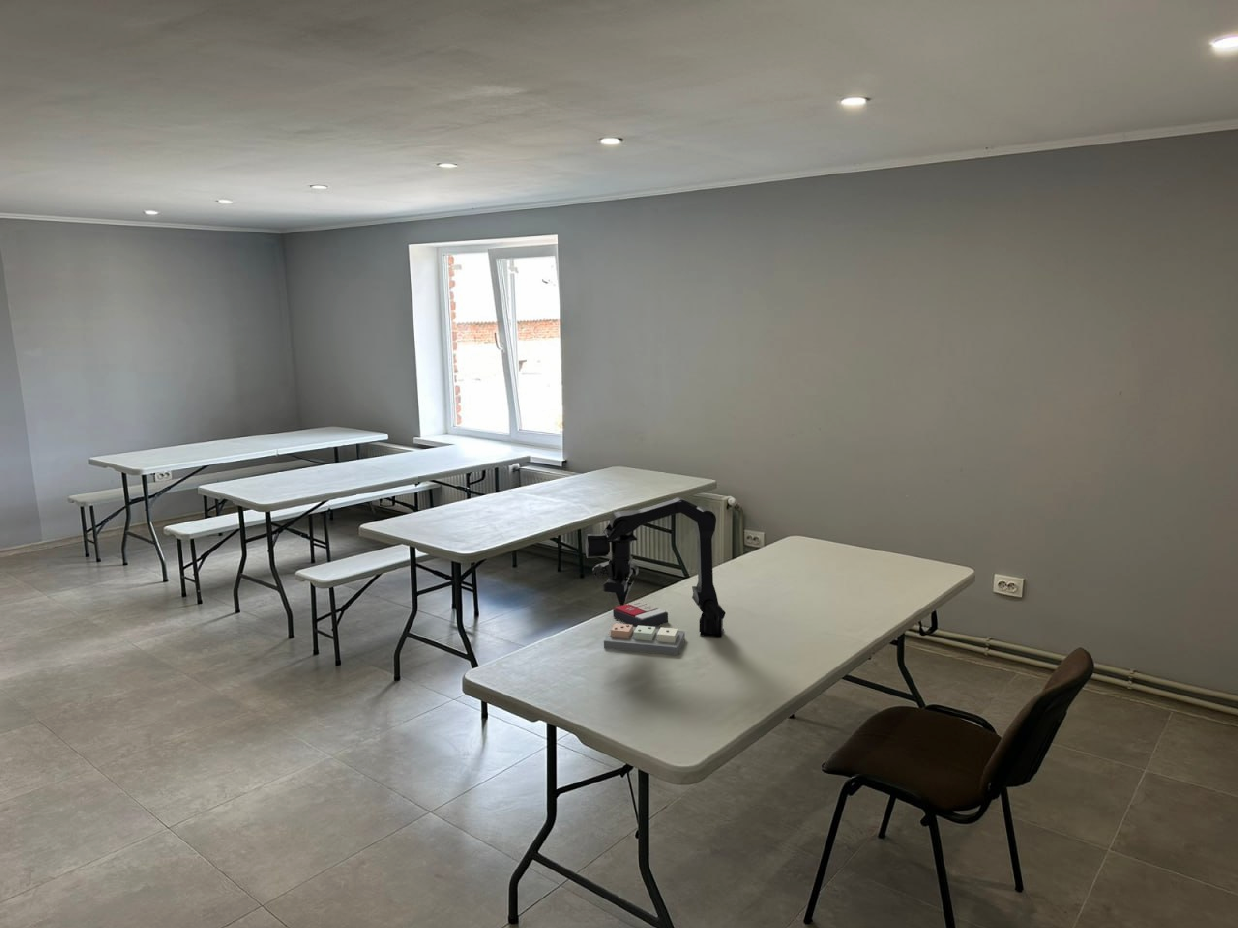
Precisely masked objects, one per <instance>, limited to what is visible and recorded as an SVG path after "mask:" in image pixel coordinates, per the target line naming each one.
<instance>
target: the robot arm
mask: <svg viewBox="0 0 1238 928" xmlns="http://www.w3.org/2000/svg"><path fill="white" fill-rule="evenodd" d="M678 514H682V515H684V516H686V517H687V518H689V519H691V520H692V525H693V528H694V532H695V534H696V535H695V536H696V541H697V542H696V545H697V547H696V549H697V576H698V577H697V578H698V580H697V582H696V583H697V584H696V586H695V585H694V586H693V585H692V587H691V588H692V597H691V599H692V600H693V602H694V603H695V604H696V606H697V607H698V608H699V610H701V612H702V613H701V616H700V618H699V633H700V634H699V637H706V638H707V637H708V638H717V639H718V638H719V639H722V637H723V634H724V631H725V629H724V618H725V615H726V611H725V610H724V609H723V607H721V605H720V604H719V600H718V595H717V592H716V589H715V586H714V582H713V581H714V580H713V578H714V577H713V574H714V573H713V542H712V540H713V536H714V533H715V531H716V524H717V517H716V515H715V513H713V511H711V510H709V508H707V506H703V505H700V506H697V505H695V504H694V503H691V502H690V501H687V500H685V499H684V498H683V497H681V496H676V497H675V498H674V499H669V500H667V501H663V502H660V503H657V504H654V505H650V506H646V507H644V508H640V509H635V510H622V511H615V512H614V513H612V514H611V515H610V518H609V523H608V524H607V526H606V527H605V528H604V530H603V531H602V533H596V534H595V533H587V534H586V539H585V545H584V546H585V555H586V558H602V557H604V558H605V557H607V556H608V555H609V554H610V553H611V556H610V557H611V558H610V559H609V561H605V562H601V563H598V564H596V565H595V566H594V567H592V569H591V571H592V573H591V575H592V576H593V577H594V578H595V579H596V580H599V579H600V578H603V577H606V576H608V579H607V580H606V581H605V582H604V583H603V589H602V590H603V592H607V593H615V595H616V597H617V600H618V601H617V602H618V604H619V606H623V605H625V603H626V601H627V598H628V595H629V592H630V591H631V588H632V586H633V584H634V579H630V577H631V575H632V574H633V575H634V576H638V574H639V567H638V565H637V564H635V563H632V561H633V555H631V554H632V552H631V551H632V549H631V546H632V545H631V542H636V541H637V540H638V538H637V535H635V534H634V533H633V532H634V531H636V530H637V529H639V528H640V527H641V526H643V525H646V524H648V523H652V522H656V521H658V520H661V519H664V518H666V517H667V518H668V517H671V516H674V515H678Z"/></svg>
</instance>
